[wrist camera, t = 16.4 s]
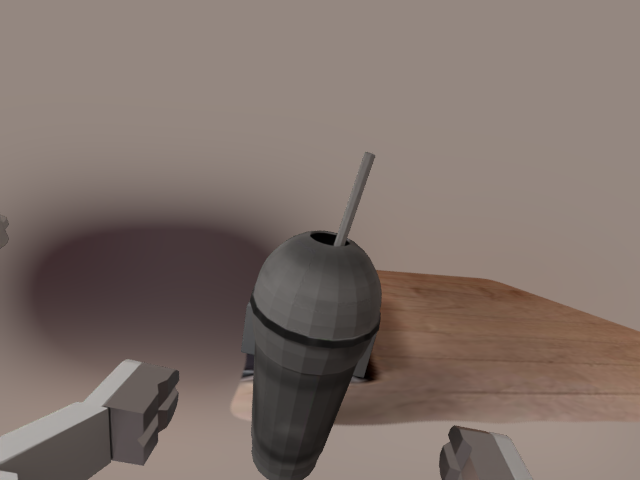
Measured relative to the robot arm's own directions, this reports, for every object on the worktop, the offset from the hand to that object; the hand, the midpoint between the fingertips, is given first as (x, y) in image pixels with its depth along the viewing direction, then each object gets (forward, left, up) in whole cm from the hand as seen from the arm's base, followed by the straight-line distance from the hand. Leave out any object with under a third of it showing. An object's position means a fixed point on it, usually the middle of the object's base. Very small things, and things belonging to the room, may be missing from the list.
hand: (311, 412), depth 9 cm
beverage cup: (0, +8, -13) cm, 16 cm away
